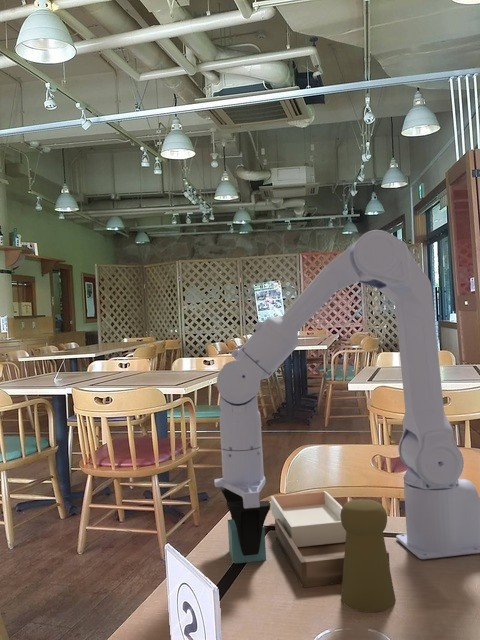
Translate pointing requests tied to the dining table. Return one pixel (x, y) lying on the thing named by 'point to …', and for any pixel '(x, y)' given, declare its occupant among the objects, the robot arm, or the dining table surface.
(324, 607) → the dining table surface
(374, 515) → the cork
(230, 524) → the teal block
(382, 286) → the robot arm
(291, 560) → the dock
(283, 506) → the tray
